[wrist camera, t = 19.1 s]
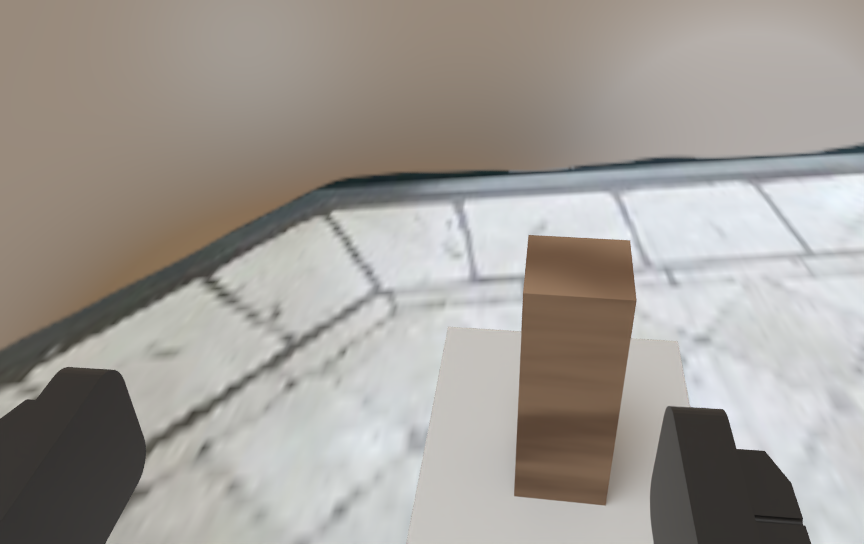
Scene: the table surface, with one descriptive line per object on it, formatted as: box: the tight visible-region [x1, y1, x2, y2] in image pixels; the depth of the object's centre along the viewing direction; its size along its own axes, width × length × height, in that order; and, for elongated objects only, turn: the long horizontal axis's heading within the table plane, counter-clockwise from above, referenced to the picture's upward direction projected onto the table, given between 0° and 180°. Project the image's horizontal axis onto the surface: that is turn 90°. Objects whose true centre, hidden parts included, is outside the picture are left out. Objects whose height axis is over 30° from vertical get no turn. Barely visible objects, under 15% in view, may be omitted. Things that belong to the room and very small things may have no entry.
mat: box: [406, 327, 690, 544], centre depth 46 cm, size 20×16×1 cm
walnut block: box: [514, 235, 636, 506], centre depth 41 cm, size 5×5×14 cm
